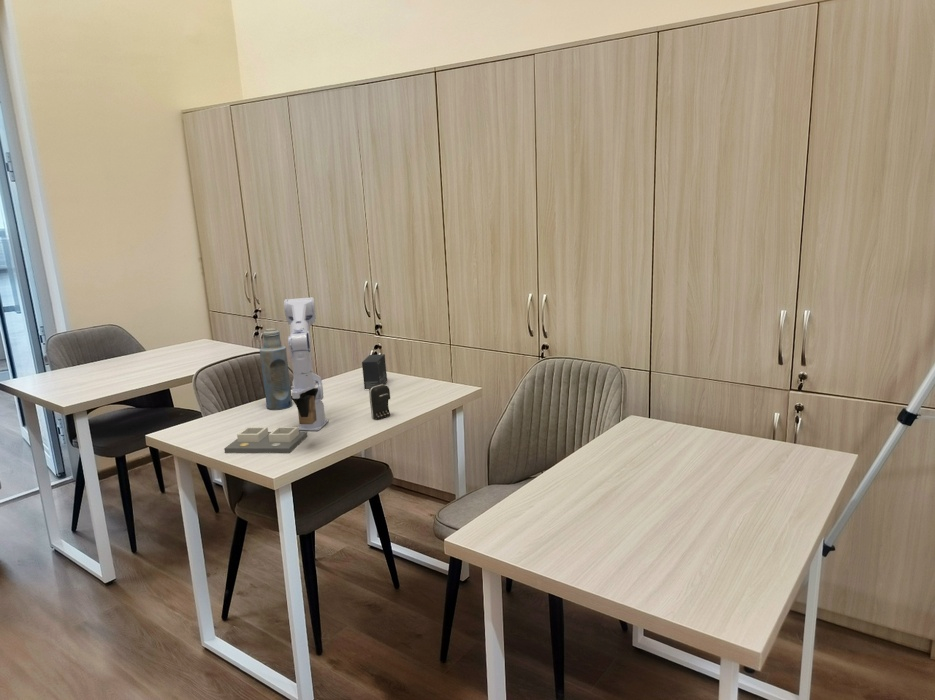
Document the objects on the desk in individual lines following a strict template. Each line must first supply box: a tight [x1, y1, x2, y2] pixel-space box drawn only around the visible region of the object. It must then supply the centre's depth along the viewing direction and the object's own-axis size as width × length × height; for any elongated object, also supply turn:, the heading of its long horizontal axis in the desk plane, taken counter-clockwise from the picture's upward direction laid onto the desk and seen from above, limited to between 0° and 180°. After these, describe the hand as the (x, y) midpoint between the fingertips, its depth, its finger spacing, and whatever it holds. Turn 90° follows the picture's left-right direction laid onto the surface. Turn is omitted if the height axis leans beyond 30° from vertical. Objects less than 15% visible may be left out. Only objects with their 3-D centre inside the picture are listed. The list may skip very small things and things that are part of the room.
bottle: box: [259, 327, 293, 411], centre depth 248 cm, size 10×10×30 cm
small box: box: [361, 353, 388, 390], centre depth 272 cm, size 13×7×12 cm, turn 174°
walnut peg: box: [297, 396, 317, 425], centre depth 204 cm, size 4×4×8 cm
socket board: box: [223, 426, 309, 454], centre depth 209 cm, size 15×21×4 cm
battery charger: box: [368, 384, 391, 420], centre depth 230 cm, size 7×4×11 cm, turn 135°
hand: (307, 414), depth 204 cm, fingers closed on walnut peg, 4 cm apart
